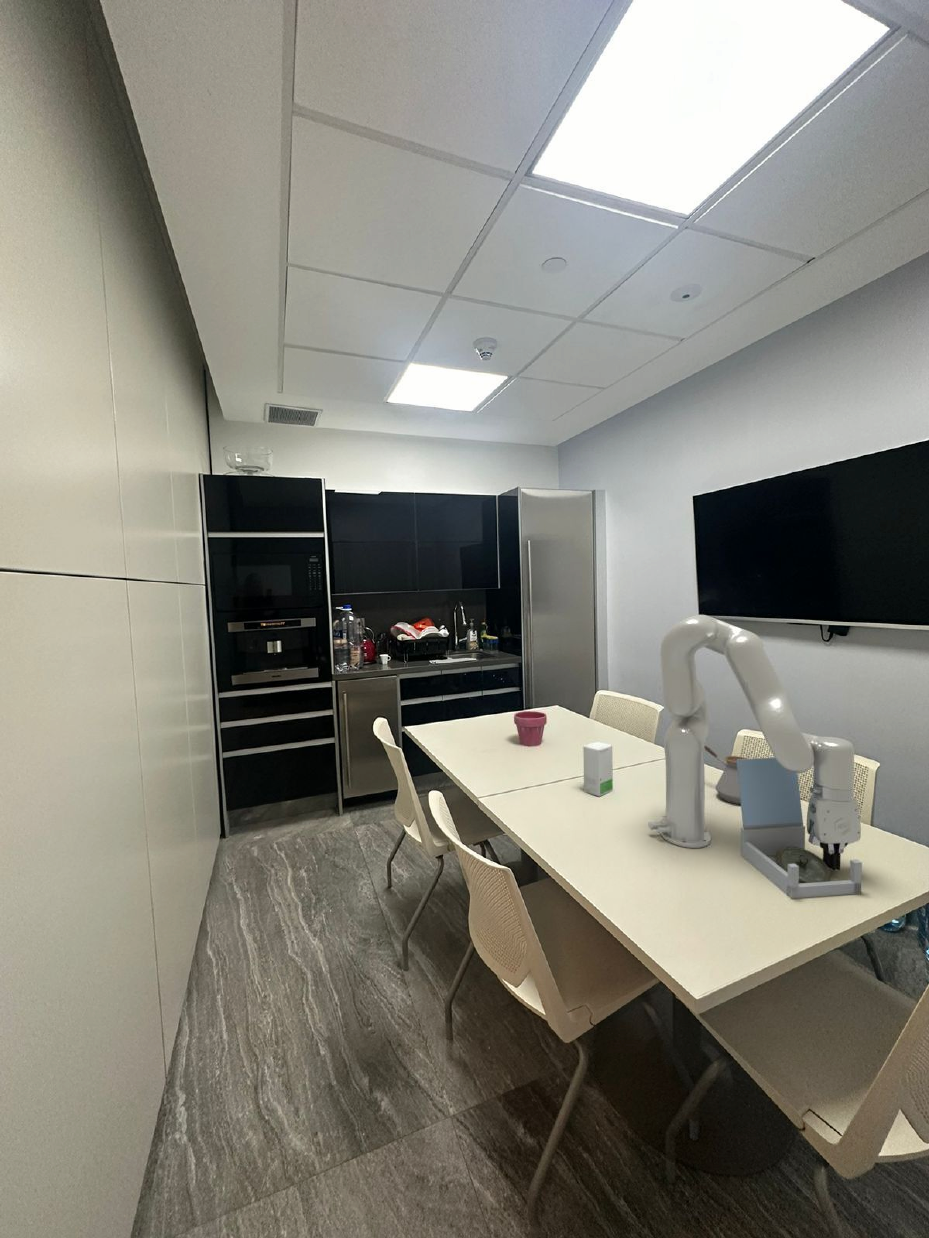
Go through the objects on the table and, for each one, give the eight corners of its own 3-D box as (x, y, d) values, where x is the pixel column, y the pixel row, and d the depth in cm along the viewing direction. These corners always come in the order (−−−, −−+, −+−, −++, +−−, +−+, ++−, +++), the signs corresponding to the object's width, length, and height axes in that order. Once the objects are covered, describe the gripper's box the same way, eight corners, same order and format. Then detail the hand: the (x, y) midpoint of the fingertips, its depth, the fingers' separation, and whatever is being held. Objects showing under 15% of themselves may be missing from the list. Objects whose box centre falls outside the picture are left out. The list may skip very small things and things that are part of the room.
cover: (738, 759, 123) (736, 759, 124) (745, 829, 122) (743, 827, 122) (795, 757, 124) (793, 756, 125) (803, 825, 123) (800, 824, 123)
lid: (815, 863, 119) (815, 843, 118) (839, 888, 109) (840, 866, 109) (768, 860, 120) (768, 840, 120) (787, 884, 111) (788, 863, 110)
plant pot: (530, 736, 226) (529, 708, 225) (553, 743, 215) (553, 714, 214) (507, 743, 217) (507, 714, 216) (531, 750, 206) (530, 720, 205)
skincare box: (599, 797, 159) (598, 750, 158) (582, 791, 164) (581, 745, 163) (613, 790, 164) (613, 744, 163) (597, 784, 169) (596, 740, 168)
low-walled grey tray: (791, 898, 106) (791, 867, 105) (740, 854, 123) (740, 827, 123) (861, 893, 107) (861, 862, 106) (801, 850, 124) (801, 824, 124)
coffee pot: (765, 802, 152) (766, 755, 151) (739, 810, 147) (740, 761, 146) (707, 778, 171) (708, 736, 170) (683, 784, 167) (683, 741, 166)
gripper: (814, 799, 110) (813, 878, 111) (877, 796, 111) (875, 874, 112) (790, 786, 118) (789, 860, 119) (849, 783, 118) (848, 856, 120)
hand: (831, 866), depth 115 cm, fingers closed
